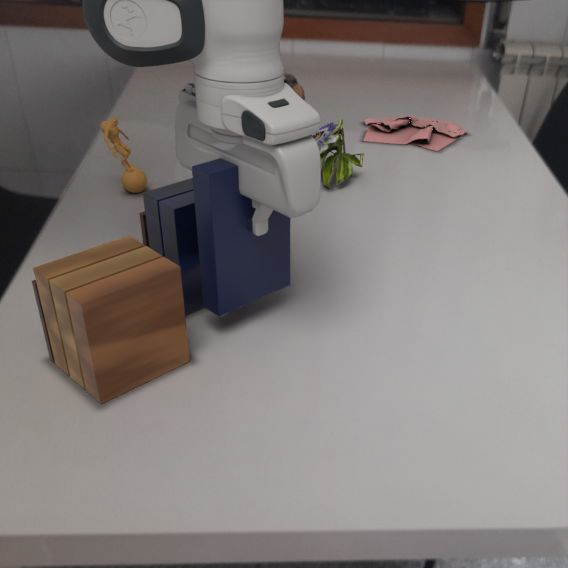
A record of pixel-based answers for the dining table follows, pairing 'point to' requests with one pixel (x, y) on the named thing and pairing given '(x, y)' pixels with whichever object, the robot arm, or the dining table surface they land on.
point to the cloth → (413, 132)
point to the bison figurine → (294, 85)
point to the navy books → (175, 235)
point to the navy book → (235, 242)
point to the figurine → (131, 176)
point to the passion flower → (330, 141)
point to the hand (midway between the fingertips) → (245, 226)
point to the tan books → (113, 316)
